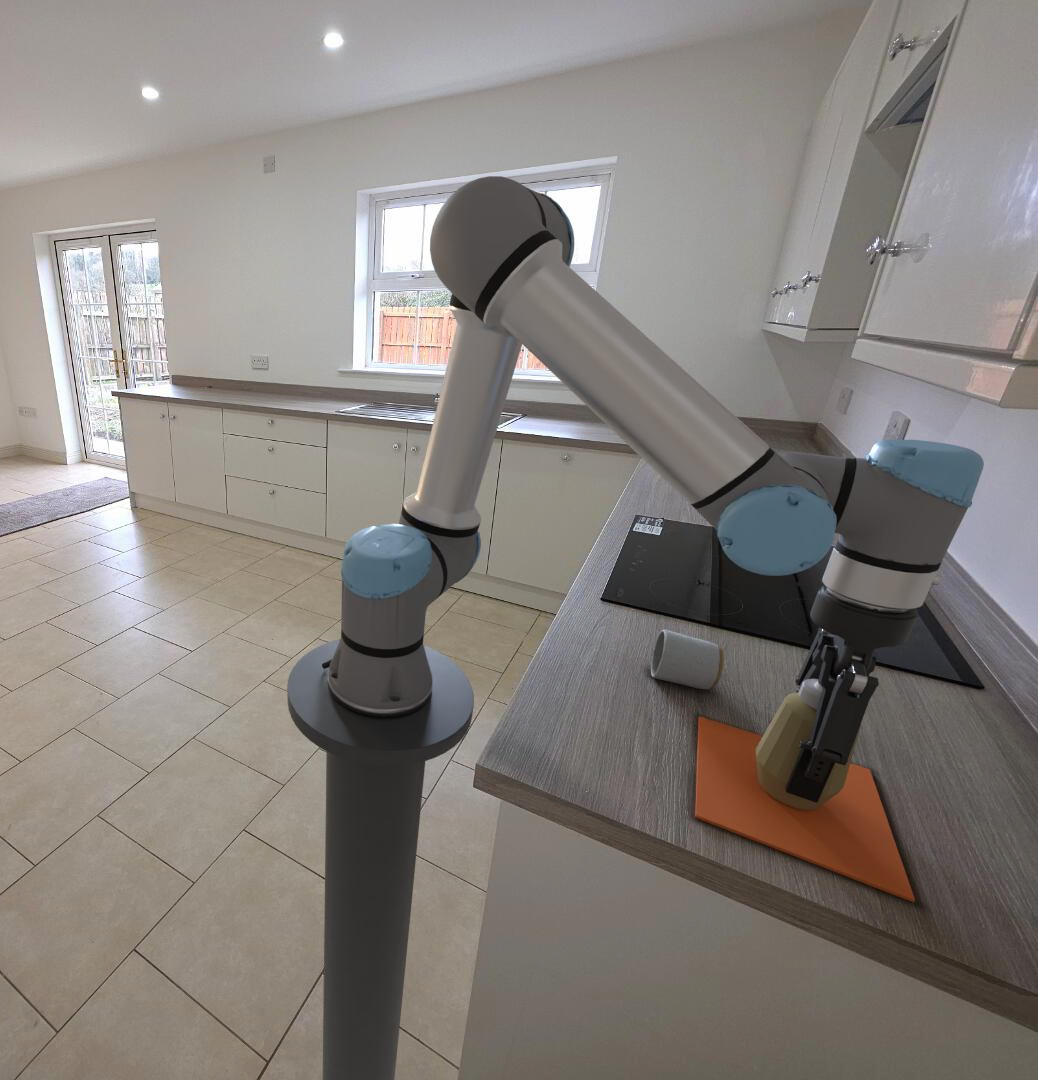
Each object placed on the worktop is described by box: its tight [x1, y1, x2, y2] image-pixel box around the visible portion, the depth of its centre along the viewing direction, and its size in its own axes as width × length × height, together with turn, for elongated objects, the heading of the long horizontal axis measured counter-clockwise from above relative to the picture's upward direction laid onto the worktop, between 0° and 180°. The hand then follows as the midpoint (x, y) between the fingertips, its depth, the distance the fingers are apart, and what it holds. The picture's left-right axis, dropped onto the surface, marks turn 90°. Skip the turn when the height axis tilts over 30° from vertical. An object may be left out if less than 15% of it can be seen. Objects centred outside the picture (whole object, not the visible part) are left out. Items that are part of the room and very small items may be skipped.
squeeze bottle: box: [755, 678, 862, 810], centre depth 63 cm, size 8×8×18 cm
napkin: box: [694, 715, 916, 903], centre depth 67 cm, size 18×20×1 cm
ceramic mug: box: [650, 629, 725, 690], centre depth 87 cm, size 11×8×8 cm
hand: (796, 770), depth 65 cm, fingers closed on squeeze bottle, 8 cm apart
